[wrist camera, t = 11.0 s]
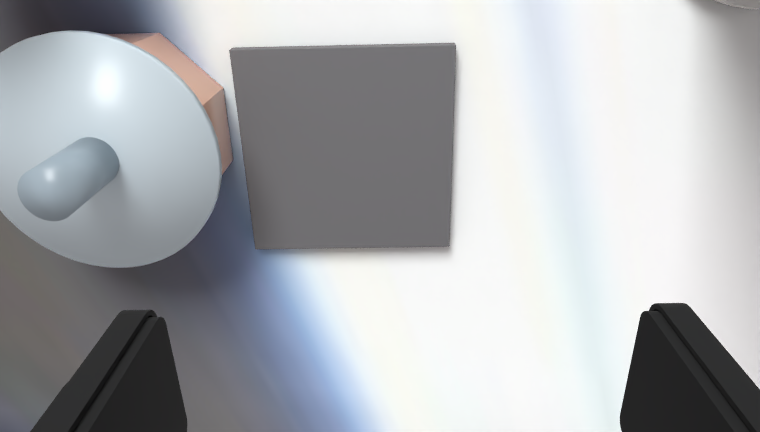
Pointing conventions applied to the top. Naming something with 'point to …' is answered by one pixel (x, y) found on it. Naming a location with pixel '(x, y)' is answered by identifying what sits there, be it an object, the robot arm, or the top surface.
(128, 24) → the top surface
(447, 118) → the mat
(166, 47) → the bowl
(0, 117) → the lid
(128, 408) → the robot arm
